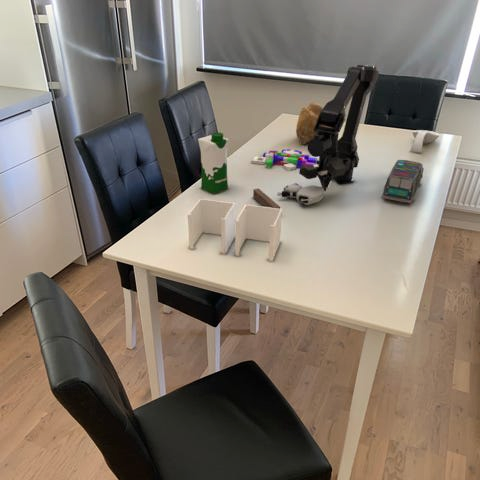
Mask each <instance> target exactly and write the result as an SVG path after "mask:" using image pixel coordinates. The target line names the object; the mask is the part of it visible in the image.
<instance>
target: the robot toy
mask: <svg viewBox="0 0 480 480" xmlns="http://www.w3.org/2000/svg"><path fill="white" fill-rule="evenodd" d="M324 189H327V190H328V189H329V186H328V187H327V188H322V186H318V185H306V186H304V187H303V186H302V185H300V184H299V183H297V182H295V183H291V184H287V185H286V186H284V187H283V190H282V191H281V192H280V191H278V192H277V193H276V194H277V197H280V196H281V198H289V199H296V200H297V202H298V203H301V204H304V205H306V206H309V205H313V204H316V203H318V202H320V201H321V200H323V198H324V197H325V192H324Z"/></svg>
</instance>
